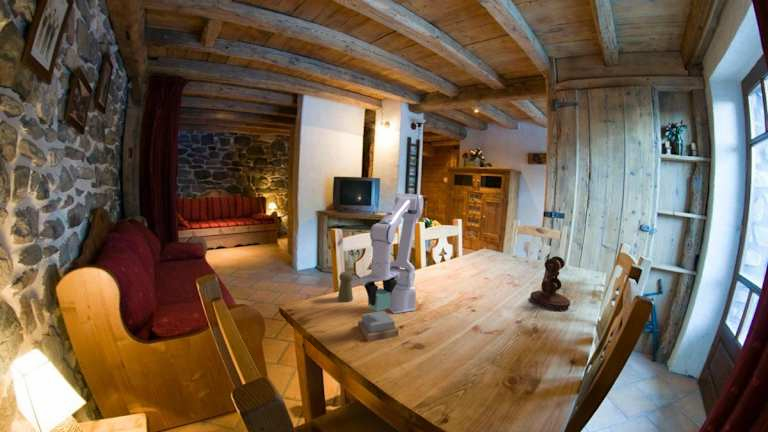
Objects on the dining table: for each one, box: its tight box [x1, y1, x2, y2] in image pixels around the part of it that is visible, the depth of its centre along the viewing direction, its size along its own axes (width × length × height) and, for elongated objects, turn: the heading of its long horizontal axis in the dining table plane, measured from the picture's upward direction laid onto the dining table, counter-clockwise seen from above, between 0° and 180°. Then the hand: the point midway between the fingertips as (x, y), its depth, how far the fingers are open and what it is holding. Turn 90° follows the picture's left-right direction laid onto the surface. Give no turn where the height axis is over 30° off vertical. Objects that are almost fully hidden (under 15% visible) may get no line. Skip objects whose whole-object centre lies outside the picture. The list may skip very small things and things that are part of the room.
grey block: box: [361, 310, 396, 333], centre depth 98 cm, size 8×8×2 cm
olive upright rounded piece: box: [337, 271, 354, 303], centre depth 121 cm, size 6×6×11 cm
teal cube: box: [367, 287, 390, 312], centre depth 97 cm, size 5×5×5 cm
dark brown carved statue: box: [530, 255, 571, 312], centre depth 126 cm, size 15×15×20 cm
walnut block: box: [357, 319, 399, 342], centre depth 98 cm, size 10×10×2 cm
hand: (379, 302), depth 97 cm, fingers closed on teal cube, 5 cm apart
